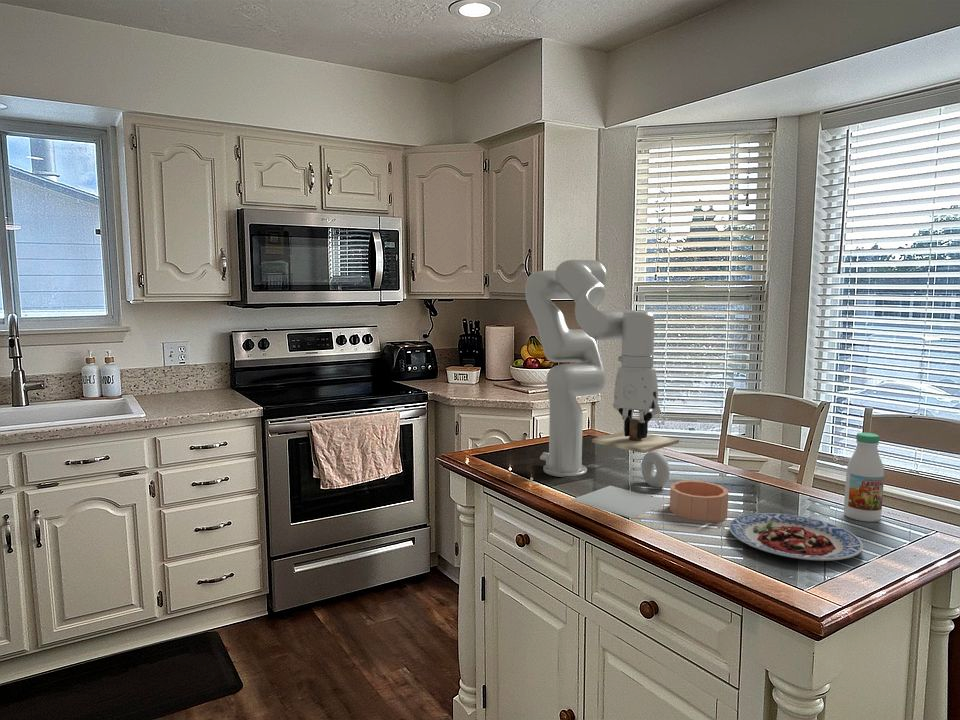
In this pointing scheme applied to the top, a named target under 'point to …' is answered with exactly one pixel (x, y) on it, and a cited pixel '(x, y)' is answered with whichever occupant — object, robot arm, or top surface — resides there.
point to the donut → (661, 468)
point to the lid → (635, 440)
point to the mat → (620, 501)
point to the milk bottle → (864, 480)
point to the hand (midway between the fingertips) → (635, 436)
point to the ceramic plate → (796, 536)
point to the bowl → (699, 500)
